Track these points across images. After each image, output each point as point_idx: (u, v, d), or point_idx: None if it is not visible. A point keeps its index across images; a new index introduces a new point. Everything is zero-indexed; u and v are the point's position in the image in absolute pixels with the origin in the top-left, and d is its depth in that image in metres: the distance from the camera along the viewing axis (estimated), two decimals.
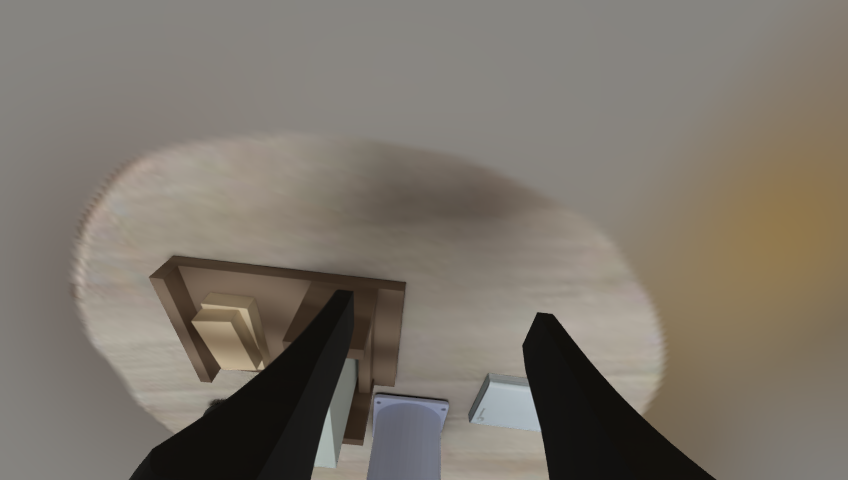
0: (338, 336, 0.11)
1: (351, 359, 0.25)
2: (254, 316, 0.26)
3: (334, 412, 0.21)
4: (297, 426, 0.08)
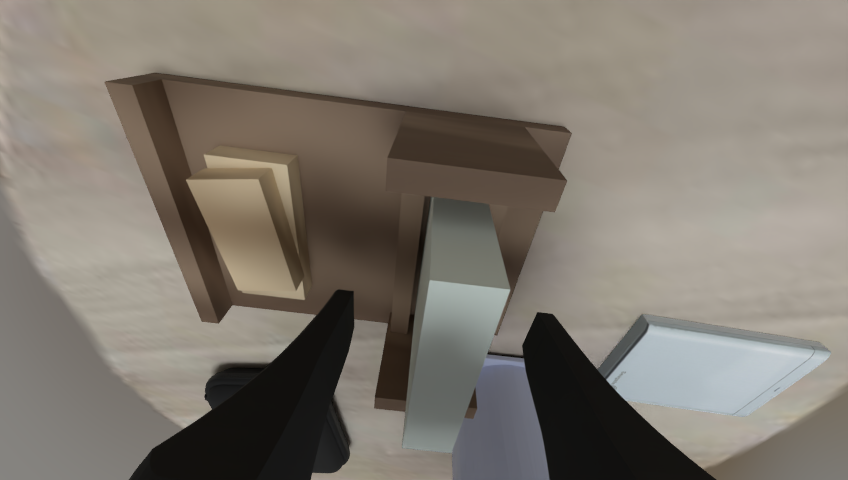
0: (338, 336, 0.11)
1: None
2: (296, 191, 0.15)
3: None
4: (297, 426, 0.08)
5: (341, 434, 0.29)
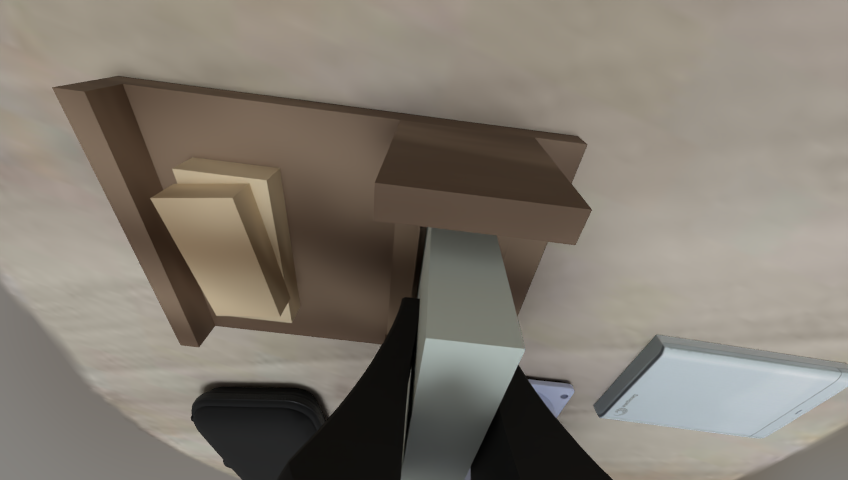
0: (414, 344, 0.11)
1: None
2: (278, 208, 0.13)
3: None
4: None
5: None
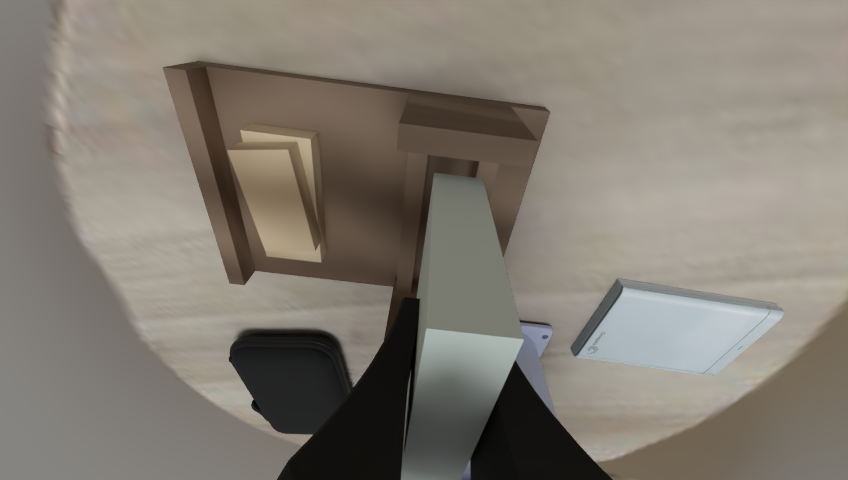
0: (414, 344, 0.11)
1: None
2: (316, 163, 0.17)
3: None
4: None
5: None
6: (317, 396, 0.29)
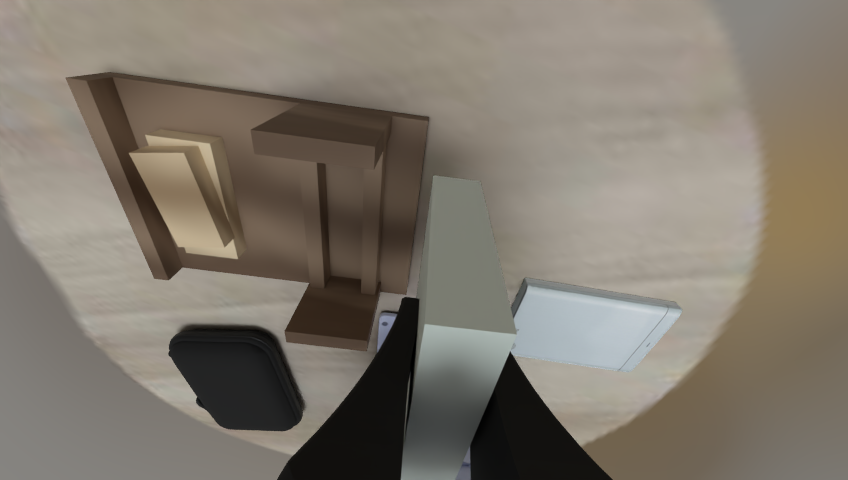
0: (414, 344, 0.11)
1: None
2: (221, 166, 0.19)
3: None
4: None
5: (293, 393, 0.33)
6: (255, 390, 0.30)
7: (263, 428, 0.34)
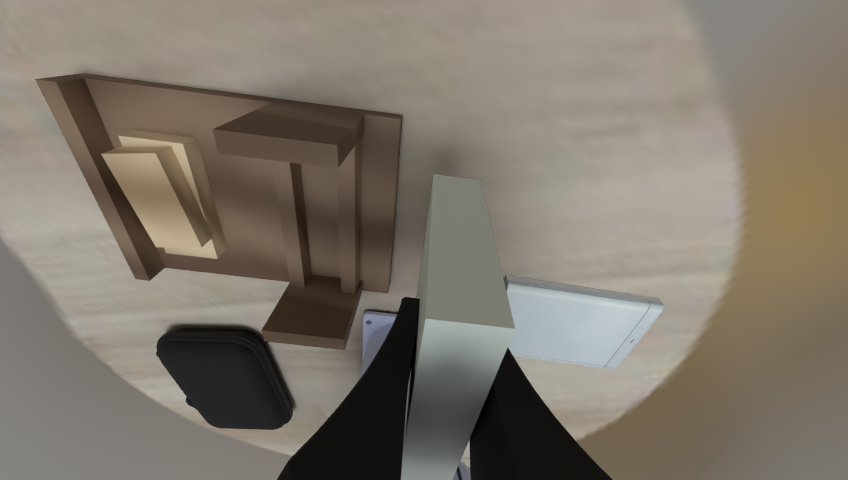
0: (414, 344, 0.11)
1: None
2: (196, 166, 0.19)
3: None
4: None
5: (282, 392, 0.33)
6: (243, 389, 0.30)
7: (253, 427, 0.34)
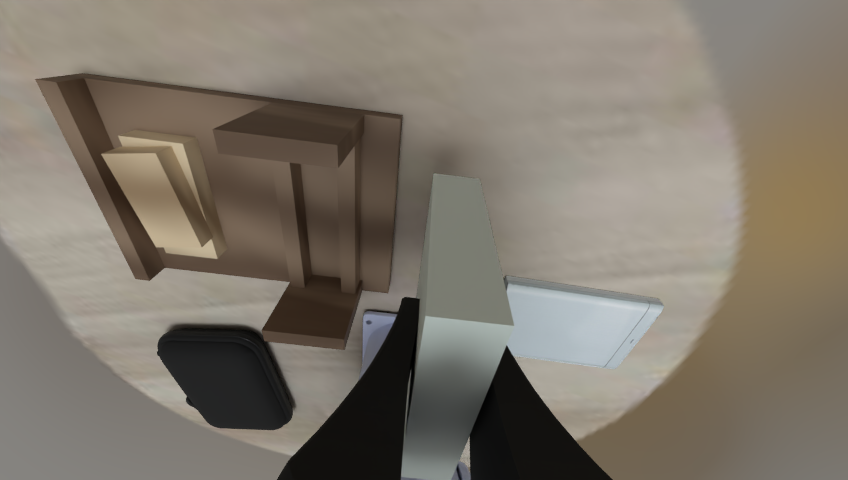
0: (414, 344, 0.11)
1: None
2: (196, 166, 0.19)
3: None
4: None
5: (282, 392, 0.33)
6: (243, 389, 0.30)
7: (253, 427, 0.34)
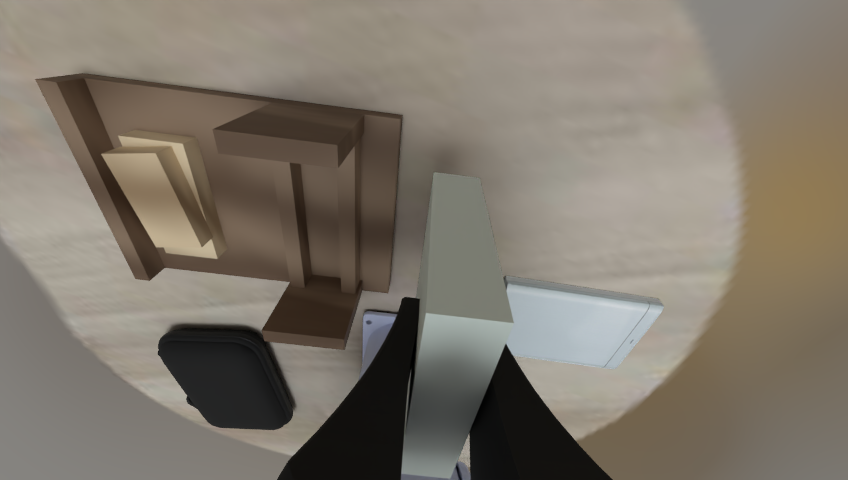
0: (414, 344, 0.11)
1: None
2: (196, 166, 0.19)
3: None
4: None
5: (283, 393, 0.33)
6: (244, 389, 0.30)
7: (253, 427, 0.34)
